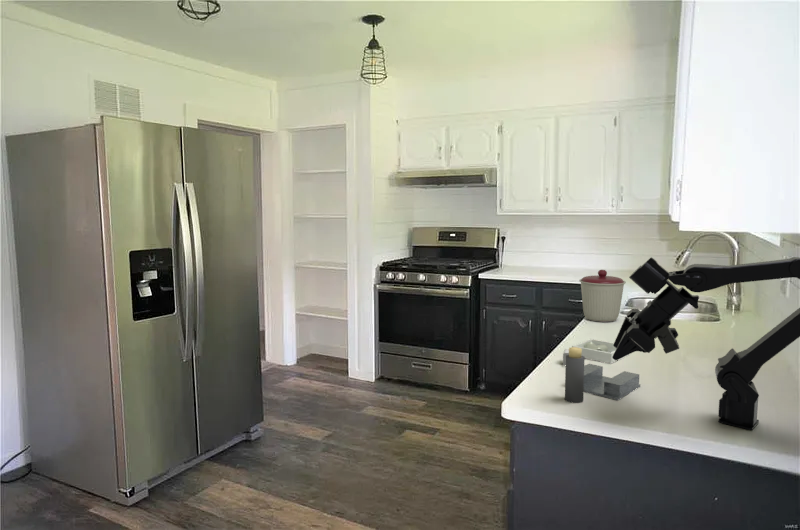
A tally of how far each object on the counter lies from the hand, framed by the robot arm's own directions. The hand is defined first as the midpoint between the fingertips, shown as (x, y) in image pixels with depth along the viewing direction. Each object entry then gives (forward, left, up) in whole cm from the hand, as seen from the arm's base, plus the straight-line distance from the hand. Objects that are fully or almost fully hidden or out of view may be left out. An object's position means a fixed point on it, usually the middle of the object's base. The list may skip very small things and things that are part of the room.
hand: (614, 352), depth 130 cm
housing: (+7, -10, -13) cm, 18 cm away
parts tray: (+21, -38, -13) cm, 46 cm away
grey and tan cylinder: (+8, +4, -13) cm, 16 cm away
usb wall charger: (+23, -22, -13) cm, 35 cm away
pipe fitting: (+22, -38, -13) cm, 46 cm away
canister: (+45, -90, -13) cm, 102 cm away
